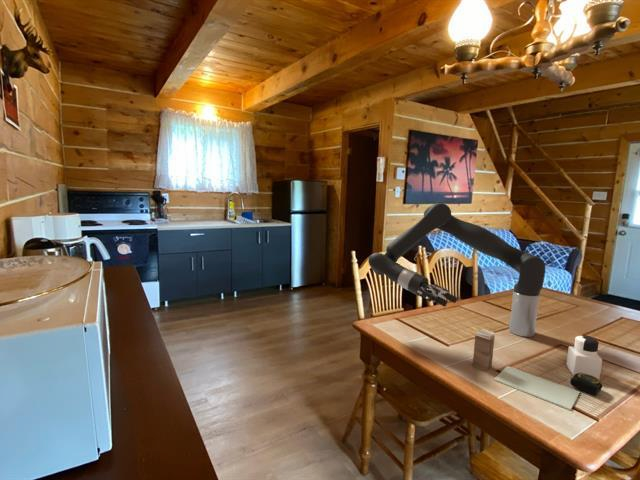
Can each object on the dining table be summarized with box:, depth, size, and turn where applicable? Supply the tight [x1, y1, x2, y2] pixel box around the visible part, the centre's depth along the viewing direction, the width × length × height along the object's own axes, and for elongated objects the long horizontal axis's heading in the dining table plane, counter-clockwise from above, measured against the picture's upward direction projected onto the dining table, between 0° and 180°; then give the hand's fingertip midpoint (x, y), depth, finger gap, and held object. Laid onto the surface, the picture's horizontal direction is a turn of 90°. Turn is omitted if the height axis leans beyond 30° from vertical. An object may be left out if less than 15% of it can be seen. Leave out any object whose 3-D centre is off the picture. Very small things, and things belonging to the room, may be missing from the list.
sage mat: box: [493, 365, 581, 411], centre depth 106 cm, size 12×20×1 cm, turn 44°
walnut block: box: [472, 328, 496, 372], centre depth 116 cm, size 4×4×12 cm
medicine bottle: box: [565, 335, 603, 380], centre depth 114 cm, size 7×7×12 cm
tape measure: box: [569, 373, 603, 396], centre depth 105 cm, size 7×7×4 cm
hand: (451, 302), depth 122 cm, fingers open, 8 cm apart
